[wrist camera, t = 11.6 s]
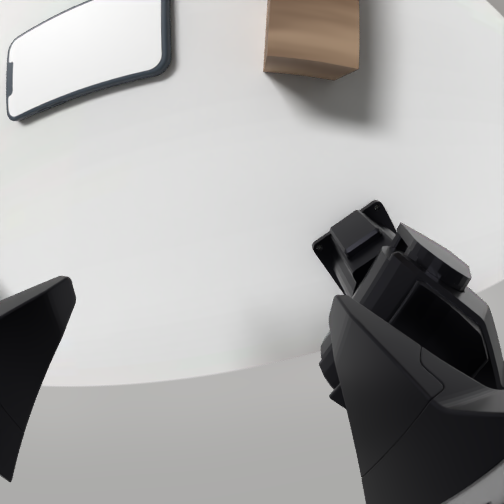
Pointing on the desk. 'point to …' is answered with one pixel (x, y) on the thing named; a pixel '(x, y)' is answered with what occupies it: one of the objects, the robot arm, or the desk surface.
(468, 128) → the desk surface
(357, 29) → the wooden block
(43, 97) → the phone case
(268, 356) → the desk surface
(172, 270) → the desk surface
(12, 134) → the desk surface
